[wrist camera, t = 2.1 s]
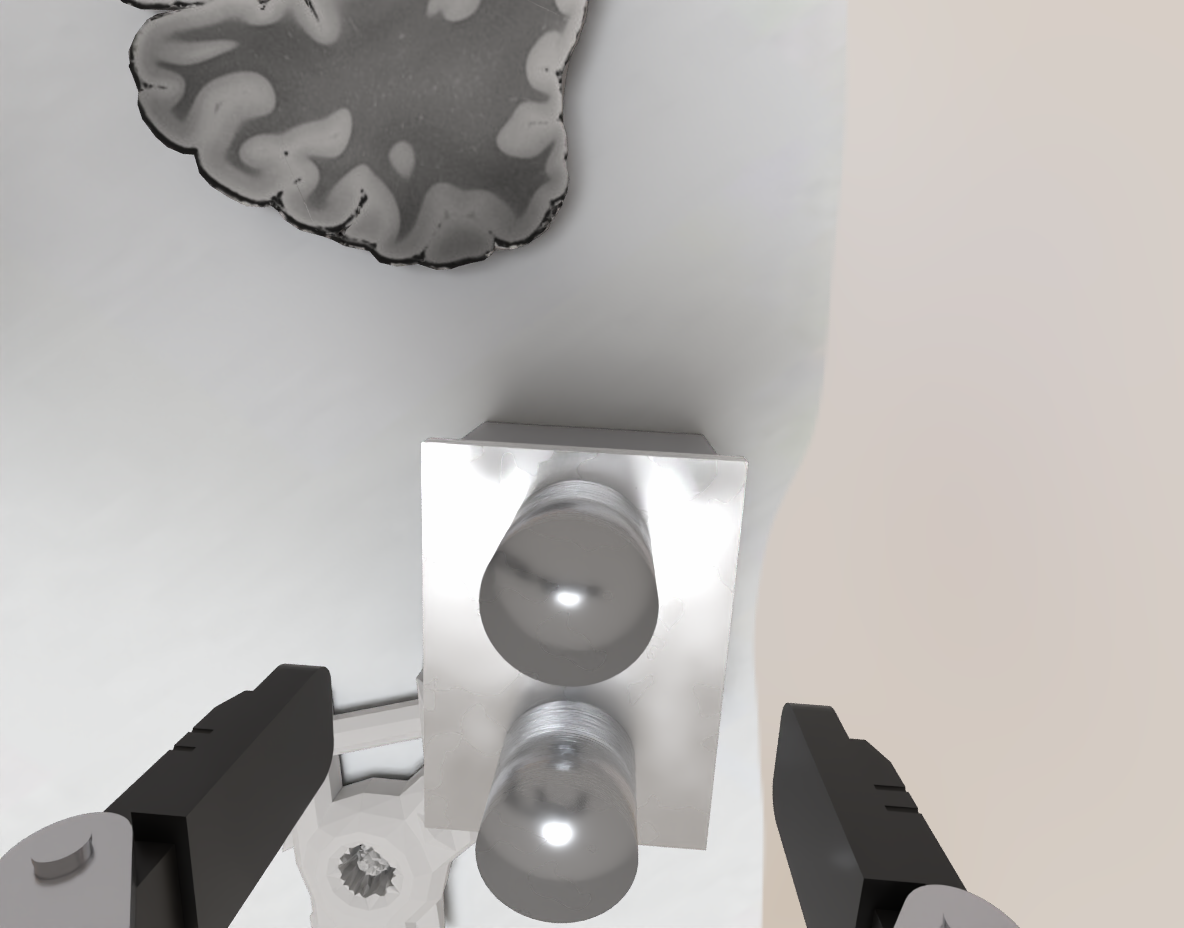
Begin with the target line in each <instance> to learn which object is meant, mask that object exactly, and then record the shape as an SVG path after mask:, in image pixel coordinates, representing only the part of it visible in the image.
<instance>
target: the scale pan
mask: <svg viewBox="0 0 1184 928" xmlns="http://www.w3.org/2000/svg"><path fill="white" fill-rule="evenodd" d="M421 448H422V577H423V705H424V828H435V829H447V830H460V831H472V832H479V828H480V825H481V821H482V818H483V814H484V811H485V807H486V803H487V800H488V796H489V793H490V789H491V786H492V782H493V778H494V775H495V771H496V768H497V764H498V761H499V757H500V753H501V750H502V746H503V743H504V740H505V737H506V735H507V733H508V731H509V730H510V728H511V726H512V725H513V724H514V723H515V722H516V720H517V719H519V718H520V717H521V716H522V715H523V714H525V713H526V712H528V711H529V710H531V709H533V708H535V707H537V706H540V705H542V704H545V703H550V702H555V701H576V702H582V703H586V704H589V705H592V706H595V707H597V708H599V709H601V710H603V711H605V712H606V713H608V714H609V715H611V716H612V717H613V718H614V719H615V720H616V721H618V722H619V724H620V725H621V726H622V727H623V728H624V730H625V731H626V733H627V734H628V736H629V738H630V740H631V742H632V745H633V749H634V753H635V768H636V801H637V834H638V845H647V846H660V847H672V848H685V849H697V850H706V845H707V836H708V827H709V818H710V808H711V799H712V790H713V781H714V772H715V763H716V754H717V744H718V735H719V726H720V717H721V708H722V699H723V690H724V680H725V671H726V662H727V653H728V644H729V635H730V626H731V616H732V607H733V598H734V589H735V580H736V571H737V562H738V552H739V543H740V534H741V525H742V516H743V507H744V498H745V488H746V479H747V470H748V461H747V460H746V459H745V458H744V457H743V456H726V455H710V454H693V453H676V452H660V451H643V450H626V449H610V448H593V447H576V446H559V445H543V444H526V443H509V442H493V441H476V440H459V439H443V438H428V439H426V440H425V441H423V442H421ZM569 480H585V481H593V482H596V483H600V484H603V485H606V486H608V487H611V488H612V489H614V490H616V491H618V492H619V493H621V494H622V495H624V496H625V497H626V498H627V499H628V500H629V501H630V502H632V503H633V504H634V506H635V507H636V508H637V509H638V511H639V512H640V514H641V515H642V517H643V519H644V521H645V523H646V525H647V527H648V531H649V534H650V539H651V546H652V554H653V561H654V569H655V576H656V584H657V591H658V599H659V613H658V619H657V624H656V628H655V631H654V634H653V636H652V638H651V640H650V642H649V644H648V646H647V647H646V649H645V650H644V652H643V653H642V654H641V655H640V657H639V658H638V659H637V660H636V661H635V662H634V663H633V664H632V665H631V666H629V667H628V668H627V669H625V670H624V671H623V672H621V673H620V674H618V675H616V676H614V677H612V678H610V679H608V680H605V681H602V682H600V683H596V684H592V685H587V686H578V687H564V686H557V685H551V684H547V683H543V682H540V681H538V680H535V679H532V678H530V677H528V676H526V675H525V674H523V673H521V672H519V671H518V670H517V669H515V668H514V667H512V666H511V665H510V664H509V663H508V662H507V661H505V660H504V659H503V658H502V656H501V655H500V654H499V653H498V652H497V651H496V649H495V648H494V646H493V645H492V643H491V642H490V640H489V638H488V636H487V634H486V632H485V630H484V627H483V624H482V621H481V616H480V611H479V592H480V586H481V581H482V577H483V575H484V572H485V570H486V567H487V565H488V564H489V562H490V560H491V558H492V556H493V554H494V553H495V551H496V549H497V547H498V545H499V543H500V542H501V540H502V538H503V536H504V534H505V533H506V531H507V529H508V527H509V525H510V523H511V522H512V520H513V518H514V516H515V514H516V513H517V511H518V510H519V508H520V507H521V506H522V504H523V503H524V502H525V501H526V500H527V499H528V498H529V497H531V496H532V495H533V494H535V493H536V492H538V491H539V490H541V489H543V488H545V487H547V486H549V485H552V484H555V483H559V482H562V481H569Z"/></svg>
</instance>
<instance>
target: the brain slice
mask: <svg viewBox="0 0 1184 928" xmlns="http://www.w3.org/2000/svg"><path fill="white" fill-rule="evenodd" d="M121 1H122V2H123V3H126V4H128V5H131V6H134V7H137V8H139V9H152V10H174V11H171V12H166V13H161V14H157V15H155V16H153V17H151V18H150V19H148V20H146V22H145V23H144V24H143V26H142V27H141V28H140V30H139V31H138V33H137V34H136V35H135V38H134V40H133V42H132V45H131V47H130V49H129V60H130V64H129V68H130V70H131V73H132V75H133V78H134V80H135V83H136V86H137V89H138V92H139V93H138V107H139V110H140V113H141V117H142V119H143V121H144V122H145V123H146V125H147V126H148V127H149V129H150V130H151V131H152V133H153V134H154V135H155V137H156V138H158V139H159V140H160V141H161V142H162V143H163V144H164V145H166V146H167V147H168V148H171V149H173V150H175V151H178V152H180V153H182V154H192V155H194V156H195V159H196V163H197V166H198V170H199V173H200V174H201V176H202V177H203V178H204V179H205V180H206V181H207V182H208V183H209V184H210V186H212V187H213V188H215V189H216V190H218V191H220V192H221V193H223V194H224V195H226V196H228V197H229V198H231V199H233V200H235V201H237V202H239V203H241V204H243V205H245V206H251V207H267V206H272V207H274V208H275V209H276V210H278V212H279V213H280V214H281V216H282V217H283V219H284V220H286V221H287V222H289V223H290V224H292V225H293V226H295V227H296V228H298V229H299V230H302V231H306V232H309V233H313V234H317V235H320V236H324V237H327V238H330V239H332V240H334V241H336V242H338V243H340V244H342V245H344V246H348V247H353V248H357V249H362V250H367V251H370V252H371V253H372V255H373V256H374V257H375V258H376V259H377V260H378V261H379V262H380V263H384V264H389V265H393V266H405V265H413V264H420V265H423V266H426V267H429V268H433V269H436V270H441V269H452V268H455V267H458V266H461V265H465V264H469V263H473V262H478V261H482V260H485V259H486V258H487V257H489V256H490V255H491V254H492V253H493V251H495V250H506V249H516V248H519V247H522V246H524V245H526V244H528V243H530V242H531V241H532V240H534V239H536V238H538V237H539V236H540V235H541V234H543V233H544V232H545V231H546V230H548V228H549V226H550V224H551V222H552V221H553V219H554V217H555V216H556V214H557V213H558V211H559V209H560V208H561V206H562V203H563V201H564V198H565V196H566V194H567V189H568V183H569V176H568V172H567V167H566V160H567V153H568V146H567V136H566V131H565V128H564V125H563V98H564V90H565V82H566V75H567V70H568V65H569V60H570V57H571V55H572V52H573V50H574V48H575V46H576V44H577V42H578V40H579V37H580V34H581V31H582V28H583V25H584V22H585V20H586V15H587V7H588V0H121Z"/></svg>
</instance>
